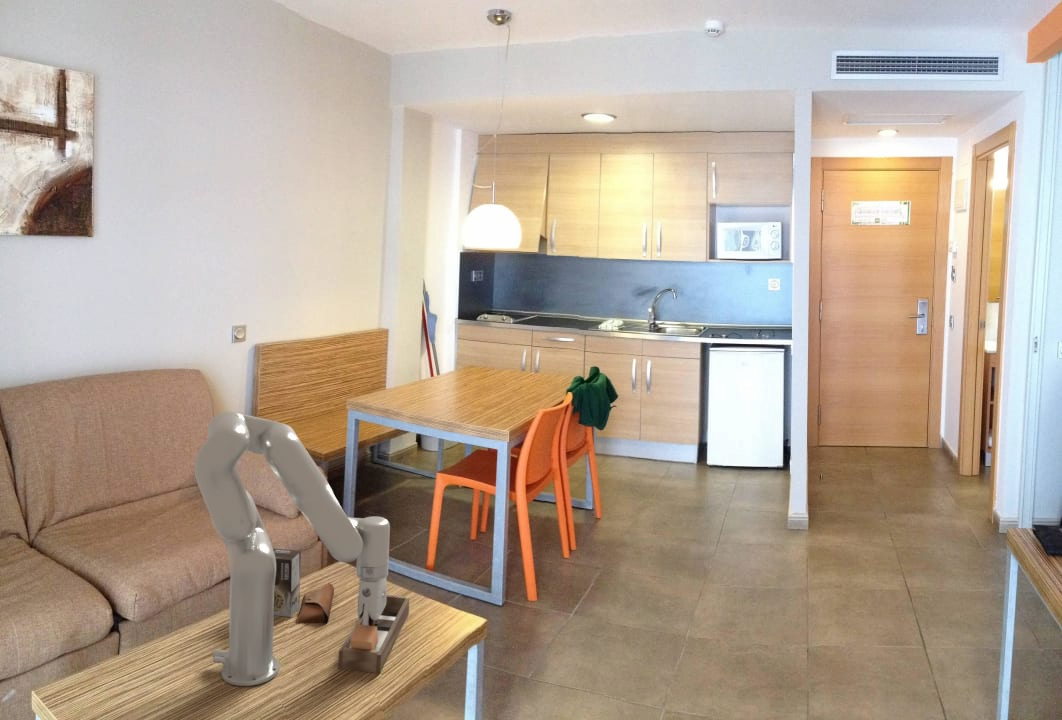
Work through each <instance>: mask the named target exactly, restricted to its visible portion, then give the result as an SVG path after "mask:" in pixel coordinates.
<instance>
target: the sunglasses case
mask: <svg viewBox="0 0 1062 720" xmlns="http://www.w3.org/2000/svg"><path fill="white" fill-rule="evenodd" d="M334 592H335V588H334V585H333V584H332V583H330V582H328V583H326V584H324V585H323V586H322V587H319V588H317V589H315V590H312V591H310V592H307V593H305V594H303V601H302V604H301V607H300V608H301V609H300V611H299V614H298V616H297V619H296V624H299V625H300V624H320V625H321V624H326V625H327V624H328V623H329V620H330V616H331V611H332V610H331V609H332V605H333V599H334V594H335V593H334Z"/></svg>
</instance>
